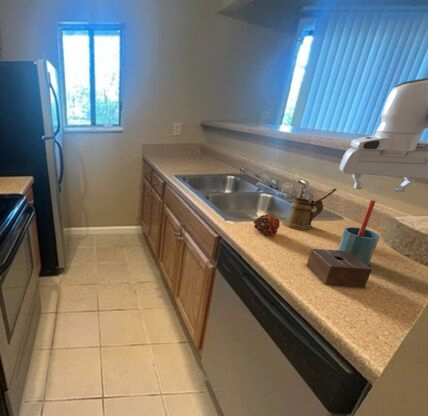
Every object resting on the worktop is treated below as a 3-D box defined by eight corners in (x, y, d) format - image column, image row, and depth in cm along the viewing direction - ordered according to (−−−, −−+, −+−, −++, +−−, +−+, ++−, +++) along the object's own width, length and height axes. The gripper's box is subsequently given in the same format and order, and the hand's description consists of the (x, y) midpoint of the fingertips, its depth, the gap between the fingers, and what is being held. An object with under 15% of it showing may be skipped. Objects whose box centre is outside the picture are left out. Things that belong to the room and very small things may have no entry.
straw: (353, 257, 90) (374, 200, 83) (355, 259, 89) (376, 201, 82) (349, 257, 90) (369, 199, 83) (350, 258, 89) (371, 201, 82)
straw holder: (341, 267, 86) (347, 250, 83) (364, 287, 76) (372, 269, 74) (306, 265, 87) (311, 248, 85) (324, 284, 78) (331, 266, 76)
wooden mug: (322, 235, 106) (336, 191, 100) (282, 225, 115) (292, 184, 108) (324, 228, 112) (338, 186, 106) (286, 219, 121) (296, 180, 114)
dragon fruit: (262, 242, 104) (260, 234, 115) (286, 233, 100) (282, 226, 111) (251, 223, 105) (250, 216, 115) (274, 213, 101) (271, 207, 111)
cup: (362, 256, 92) (372, 229, 88) (373, 269, 85) (384, 240, 81) (332, 251, 95) (341, 225, 91) (340, 263, 88) (349, 235, 84)
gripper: (439, 142, 75) (419, 190, 80) (344, 140, 83) (332, 184, 88) (454, 145, 69) (432, 197, 74) (352, 142, 77) (338, 189, 82)
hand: (377, 190), depth 81 cm, fingers open, 8 cm apart
